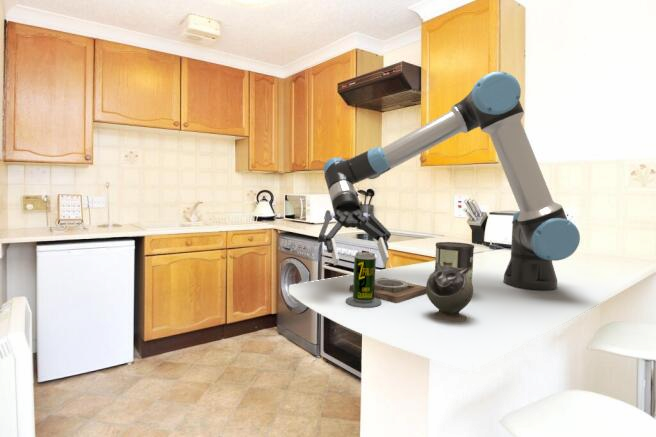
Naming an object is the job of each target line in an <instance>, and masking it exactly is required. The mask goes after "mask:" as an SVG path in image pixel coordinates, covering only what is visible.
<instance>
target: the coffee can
mask: <svg viewBox="0 0 656 437" xmlns="http://www.w3.org/2000/svg"><path fill="white" fill-rule="evenodd" d="M474 248H475V245H474V244H472V243H464V242H456V241H440V242H439V241H438V242H436V243H435V262H434V263H435V264H434V265H436V263H438V264H441V266H443V267H456V268H459V269H461V270H462V269H463V268H464V267H468V268H469V270H468V273H466V274H467V275H468V276H469V278H470V279H471V281H472V282H473V270H474V269H473V267H474V250H475V249H474Z"/></svg>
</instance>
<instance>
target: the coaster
mask: <svg viewBox="0 0 656 437" xmlns="http://www.w3.org/2000/svg"><path fill="white" fill-rule="evenodd" d="M345 303H346V304H347V305H349V306H352V307H356V308H366V309H367V308H377V307H379V306H381V305H382V299H379V298H375V297H374V299H373V301H372V302H371V303H359V302H356V301H354V299H353V296H349V297H346V299H345Z"/></svg>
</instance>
